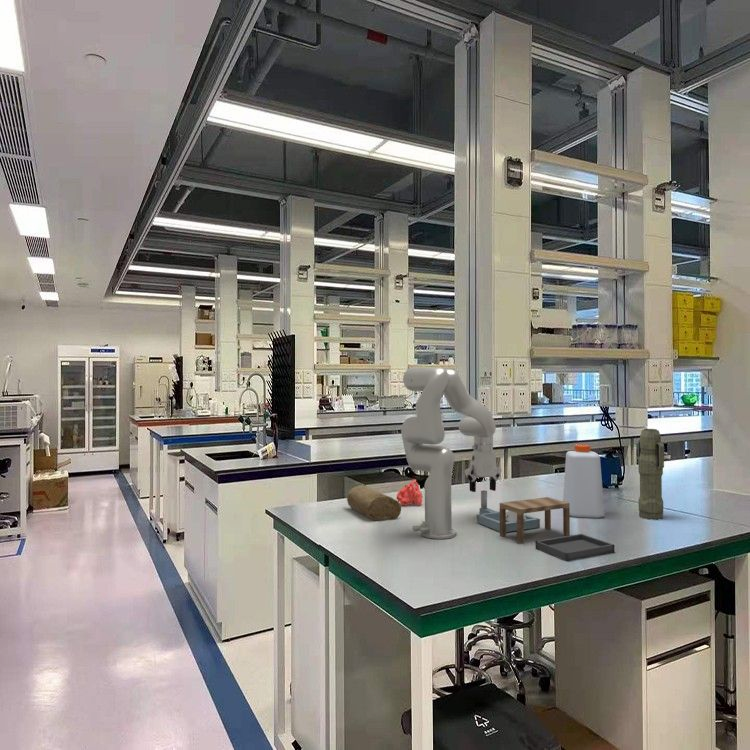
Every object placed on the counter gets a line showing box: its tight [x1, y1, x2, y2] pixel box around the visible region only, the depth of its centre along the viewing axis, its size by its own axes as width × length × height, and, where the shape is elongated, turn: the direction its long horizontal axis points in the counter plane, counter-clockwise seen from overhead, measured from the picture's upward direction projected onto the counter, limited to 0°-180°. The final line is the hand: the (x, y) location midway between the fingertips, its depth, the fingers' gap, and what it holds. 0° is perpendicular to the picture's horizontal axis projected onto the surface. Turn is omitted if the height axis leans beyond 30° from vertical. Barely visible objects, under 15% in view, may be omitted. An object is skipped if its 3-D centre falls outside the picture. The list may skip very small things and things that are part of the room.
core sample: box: [346, 484, 402, 522], centre depth 232 cm, size 14×26×10 cm, turn 25°
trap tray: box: [534, 533, 615, 562], centre depth 182 cm, size 20×14×2 cm
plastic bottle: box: [562, 444, 605, 519], centre depth 230 cm, size 15×15×28 cm
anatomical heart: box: [396, 479, 423, 507], centre depth 247 cm, size 9×12×12 cm
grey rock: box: [506, 510, 526, 522], centre depth 209 cm, size 8×9×10 cm
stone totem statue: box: [637, 428, 665, 521], centre depth 224 cm, size 9×12×35 cm
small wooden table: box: [499, 496, 571, 545], centre depth 199 cm, size 22×11×12 cm, turn 115°
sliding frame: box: [476, 490, 541, 533], centre depth 216 cm, size 24×17×10 cm
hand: (482, 490), depth 225 cm, fingers open, 9 cm apart
